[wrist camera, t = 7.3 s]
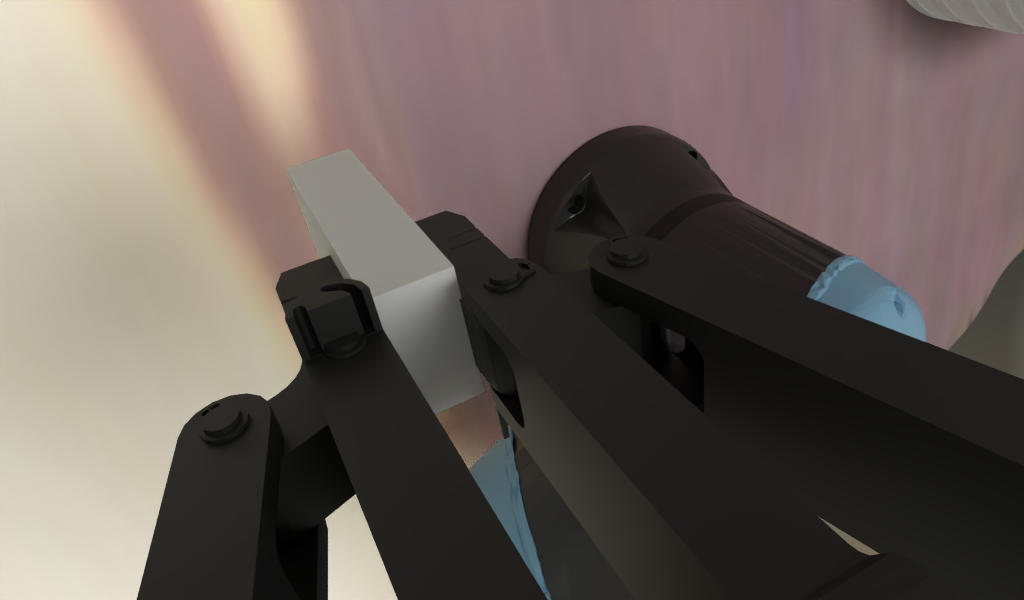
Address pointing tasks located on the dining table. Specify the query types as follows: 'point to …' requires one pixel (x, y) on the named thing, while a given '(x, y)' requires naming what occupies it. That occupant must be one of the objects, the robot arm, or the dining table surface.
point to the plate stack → (976, 12)
